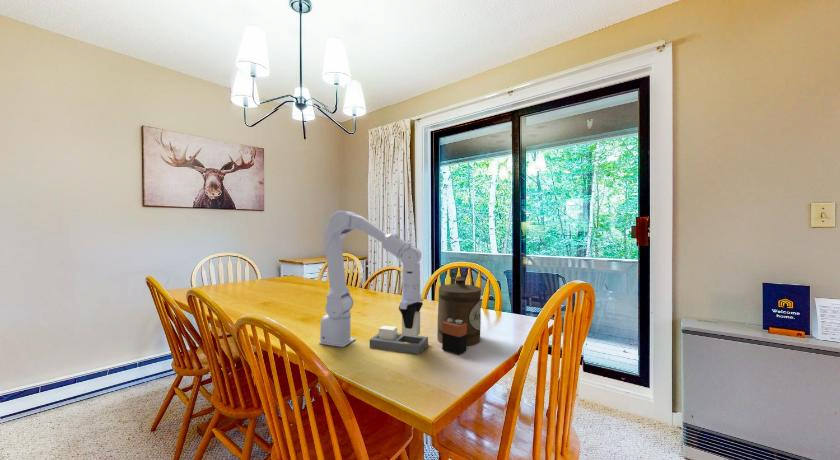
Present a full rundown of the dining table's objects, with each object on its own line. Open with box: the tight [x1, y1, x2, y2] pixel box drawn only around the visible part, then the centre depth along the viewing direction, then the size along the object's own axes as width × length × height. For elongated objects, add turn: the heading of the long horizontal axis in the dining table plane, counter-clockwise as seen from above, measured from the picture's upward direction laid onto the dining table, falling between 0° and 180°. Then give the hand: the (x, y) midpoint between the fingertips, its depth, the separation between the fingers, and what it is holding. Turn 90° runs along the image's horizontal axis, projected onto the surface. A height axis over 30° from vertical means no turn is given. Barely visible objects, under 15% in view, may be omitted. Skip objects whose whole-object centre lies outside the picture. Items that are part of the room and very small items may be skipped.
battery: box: [441, 318, 467, 356], centre depth 107 cm, size 4×7×10 cm, turn 49°
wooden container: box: [436, 276, 482, 347], centre depth 117 cm, size 15×15×22 cm
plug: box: [401, 311, 421, 337], centre depth 109 cm, size 5×4×7 cm
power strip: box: [369, 325, 429, 355], centre depth 111 cm, size 17×9×6 cm, turn 71°
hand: (410, 326), depth 109 cm, fingers closed on plug, 3 cm apart
